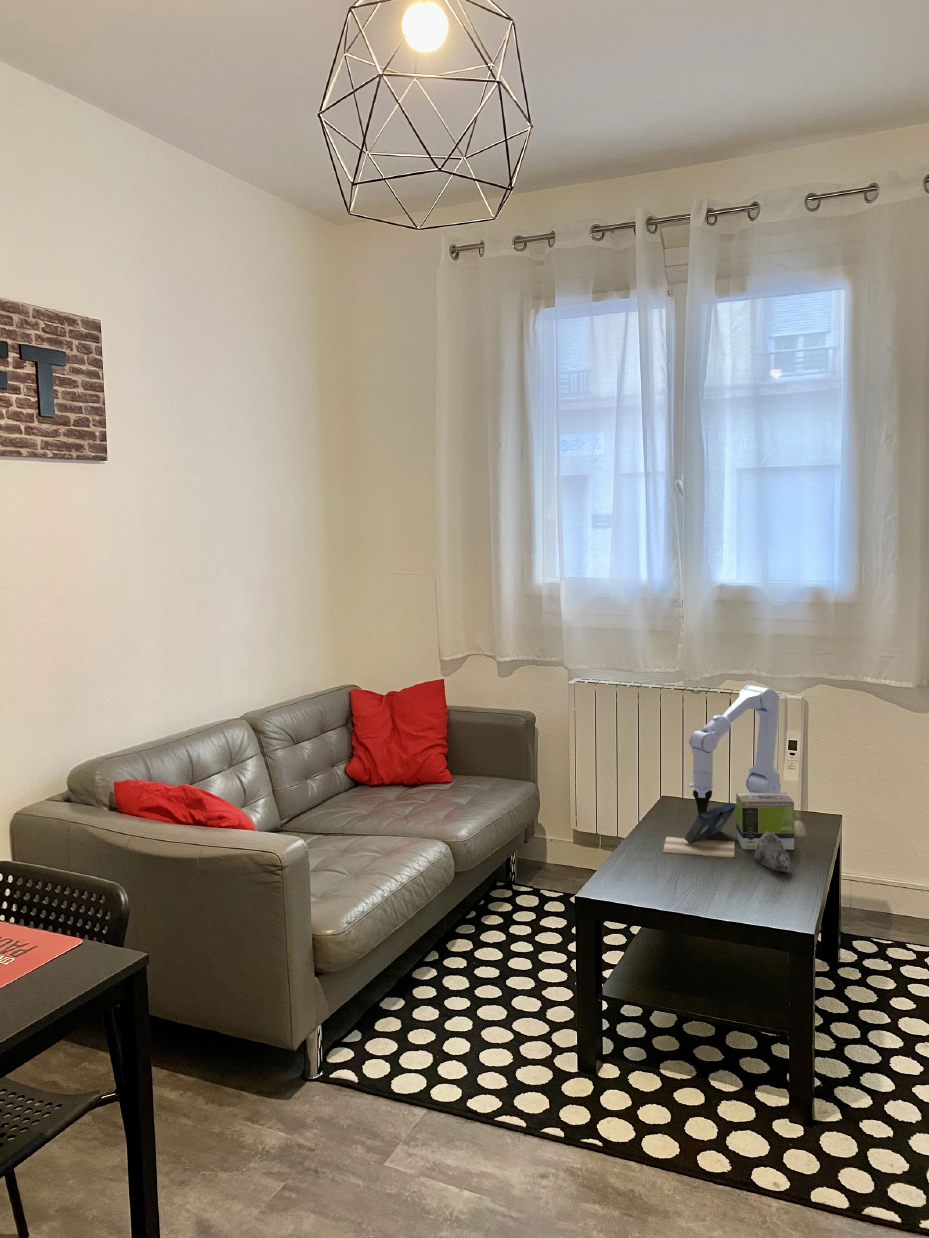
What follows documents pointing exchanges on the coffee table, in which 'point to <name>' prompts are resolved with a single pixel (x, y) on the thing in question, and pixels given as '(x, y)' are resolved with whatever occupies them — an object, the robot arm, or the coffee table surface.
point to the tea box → (764, 818)
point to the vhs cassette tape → (709, 823)
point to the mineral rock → (772, 853)
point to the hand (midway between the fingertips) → (702, 814)
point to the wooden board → (700, 847)
